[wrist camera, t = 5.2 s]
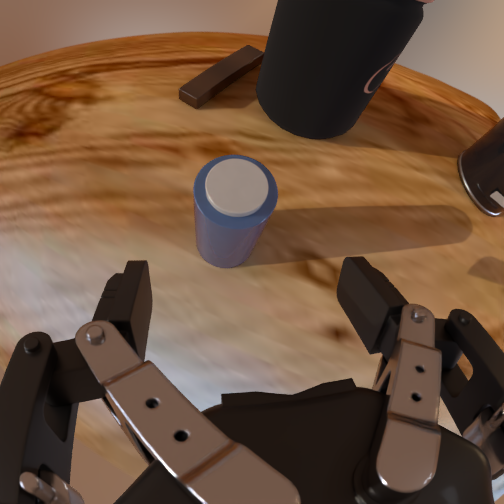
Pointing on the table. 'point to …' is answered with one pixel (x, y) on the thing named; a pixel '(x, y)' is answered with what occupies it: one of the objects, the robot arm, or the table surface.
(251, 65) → the walnut stick
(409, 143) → the table surface
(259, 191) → the salt shaker
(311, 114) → the coffee jar
